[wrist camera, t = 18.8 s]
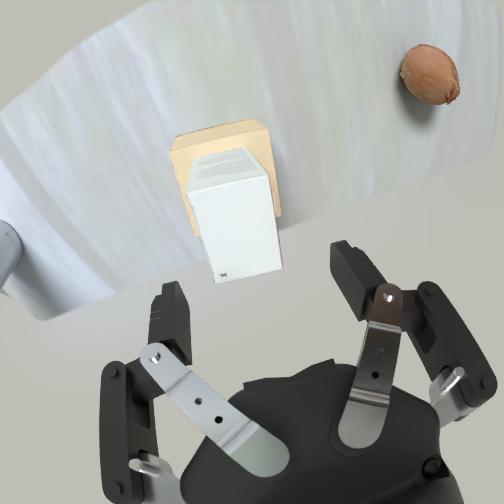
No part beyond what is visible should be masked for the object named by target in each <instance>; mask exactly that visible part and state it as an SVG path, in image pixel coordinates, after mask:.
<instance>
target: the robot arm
mask: <svg viewBox="0 0 504 504" xmlns="http://www.w3.org/2000/svg"><path fill="white" fill-rule="evenodd" d="M21 256H22V244H21V241H20V239H19V237H18V235H17V233H16V232H15V230H14V229H13V228H12V227H11V226H10V225H9V224H7V223H6V222H3V221H0V291H1V289H2V287H3V286H4V284H5V282H6V280H7V279H8V277H9V275H10V274H11V272H12V271H13V269H14V268H15V266H16V264H17V263H18V261H19V260H20V258H21ZM330 270H331V274H332V276H333V278H334V279H335V281H336V283H337V284H338V286H339V288H340V290H341V291H342V293H343V295H344V297H345V298H346V300H347V302H348V304H349V305H350V307H351V309H352V311H353V312H354V314H355V316H356V318H357V319H358V321H362V320H365V319H366V321H367V323H368V324H367V328H366V332H365V336H364V340H363V344H362V348H361V351H360V355H359V358H358V362H357V365H356V366H353V365H349V364H335V362H334V359H329V360H326V361H324V362H320V363H317V364H314V365H311V366H309V367H308V368H306V369H304V370H302V371H301V372H299V373H297V374H295V375H294V376H291V377H280V378H263V379H259V380H255V381H250V382H245V383H243V386H244V389H243V390H241V391H239V392H237V393H236V394H235V395H233V396H232V397H231V398H230V399H229V400H228V401H226V400H225V399H223V398H222V397H221V396H220V395H219V394H218V393H217V392H215V391H214V390H213V389H212V388H211V387H210V386H209V385H207V384H206V383H205V382H204V381H203V380H202V379H201V378H200V377H198V376H197V375H196V374H195V373H194V372H193V371H190V370H189V369H188V368H187V367H186V366H187V365H192V352H191V333H190V310H189V305H188V302H187V300H186V298H185V295H184V294H183V291H182V289H181V287H180V285H179V283H178V281H174V282H169V283H165V284H163V285H162V295H158V296H156V297H155V299H154V300H153V302H152V304H151V315H150V324H149V335H148V345H147V346H146V347H145V348H144V349H143V350H142V352H141V355H140V357H139V358H138V359H136V360H134V361H132V362H130V363H128V364H126V365H124V364H123V363H122V362H120V361H112V362H110V363H108V364H107V365H106V366H105V367H104V369H103V371H102V376H101V390H100V415H99V441H100V465H101V478H102V488H103V492H104V494H105V496H106V498H107V499H108V500H109V501H111V502H112V503H114V504H464V502H463V498H462V496H461V493H460V490H459V487H458V484H457V482H456V479H455V477H454V476H453V474H452V473H451V471H450V470H449V468H448V467H447V466H446V464H445V462H444V461H443V459H442V457H441V454H440V448H439V435H440V429H441V428H442V427H444V426H446V425H447V424H449V423H451V422H452V421H460V420H462V419H463V418H464V417H466V416H468V415H469V414H470V413H471V412H473V411H474V410H476V409H477V408H478V407H480V406H481V405H482V404H484V403H485V402H486V401H488V400H489V399H490V398H491V397H493V395H494V394H495V392H496V390H497V379H496V376H495V375H494V373H493V371H492V369H491V367H490V365H489V364H488V361H487V360H486V358H485V356H484V354H483V352H482V351H481V349H480V348H479V346H478V344H477V342H476V341H475V339H474V338H473V336H472V334H471V332H470V331H469V329H468V328H467V326H466V325H465V323H464V321H463V320H462V318H461V317H460V316H459V314H458V312H457V311H456V309H455V308H454V307H453V305H452V304H451V302H450V301H449V299H448V298H447V297H446V295H445V294H444V293H443V291H442V290H441V288H440V287H439V286H438V285H437V284H435V283H433V282H430V281H425V282H422V283H420V284H419V286H418V288H417V290H401V289H400V288H399V287H398V286H396V285H394V284H390V283H387V281H386V280H385V279H384V277H383V276H382V275H381V273H380V272H379V271H378V269H377V268H376V267H375V265H373V263H372V262H371V260H369V258H368V256H367V255H366V254H365V253H364V251H362V250H360V249H358V248H357V247H354V248H351V246H350V245H349V244H348V243H347V241H346V240H342V241H338V242H334V243H331V246H330ZM405 331H406V332H407V334H408V336H409V338H410V339H411V341H412V343H413V345H414V347H415V349H416V351H417V353H418V355H419V357H420V358H421V361H422V363H423V364H424V367H425V369H426V371H427V373H428V375H429V377H430V379H431V381H432V383H431V385H430V388H429V395H430V400H431V403H430V404H429V403H427V402H426V401H424V400H422V399H419V398H417V397H415V396H413V395H411V394H409V393H407V392H405V391H403V390H401V389H399V388H397V387H395V386H393V385H392V383H393V378H394V373H395V368H396V363H397V358H398V352H399V346H400V339H401V332H405ZM165 393H166V394H167V395H168V397H169V398H170V399H171V400H172V401H173V402H174V403H175V404H176V405H177V406H178V407H179V408H180V410H181V411H182V412H183V413H184V414H185V415H186V416H187V417H188V418H189V419H190V420H191V421H192V422H193V423H194V424H195V425H197V426H198V428H200V429H201V430H202V431H203V432H204V433H205V434H206V436H205V438H204V440H203V441H202V443H201V445H200V446H199V448H198V449H197V451H196V453H195V454H194V456H193V457H192V459H191V461H190V462H189V464H188V465H187V467H186V468H185V470H184V472H183V474H182V476H181V479H180V480H179V479H178V478H177V477H175V475H174V474H173V472H172V469H171V467H170V465H169V464H168V463H167V462H166V461H165V460H164V459H161V458H159V454H158V446H157V438H156V429H155V417H154V405H153V399H154V398H156V397H158V396H160V395H162V394H165Z"/></svg>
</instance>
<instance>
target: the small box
mask: <svg viewBox="0 0 504 504" xmlns="http://www.w3.org/2000/svg"><path fill="white" fill-rule="evenodd" d="M186 196H187V199H188V201H189V204H190V207H191V209H192V212H193V216H194V219H195V222H196V225H197V228H198V231H199V235H200V238H201V241H202V244H203V247H204V250H205V253H206V256H207V259H208V262H209V266H210V269H211V273H212V276H213V280H214V283H215V284H221V283H225V282H230V281H234V280H239V279H243V278H247V277H251V276H255V275H260V274H264V273H268V272H272V271H276V270H279V269H282V268H283V263H282V256H281V249H280V242H279V235H278V228H277V221H276V215H275V208H274V202H273V196H272V189H271V184H270V177H269V174H268V173H267V171H266V170H265V169H264V168H263V166H262V165H261V164H260V163H259V161H258V160H257V159H256V158H255V156H254V155H253V154H252V153H251V152H250V150H249V149H248V148H247V147H246V146H245V147H240V148H235V149H230V150H225V151H221V152H217V153H213V154H208V155H204V156H201V157H197V158H194V159H193V163H192V167H191V172H190V176H189V181H188V186H187V191H186Z"/></svg>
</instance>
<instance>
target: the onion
mask: <svg viewBox="0 0 504 504" xmlns="http://www.w3.org/2000/svg"><path fill="white" fill-rule="evenodd" d="M400 69H401V73H400V75H401V77H402V78H403V80H404V83H405V85H406V87H407V88H408V91H409V92H411V93H412V94H413V95H414V96H415V97H416V98H418V99H419V100H421V101H423V102H425V103H428V104H432V105H441V104H444V103H447V105H448V104H450V103H451V102H452V101H453V100H456V97H457V96H458V95H459V93H460V87H459V79H458V73H457V70H456V67H455V64H454V62H453V61H452V59H451V58H450V57H449V56H448V55H447V54H446V53H445V52H443V51H442V50H440V49H439V48H436V47H434V46H430V45H426V44H423V45H422V44H420V45H418V46H416V47H414V48H412V49H410V50H409V52H408V53H407V54H405V57H404V59H403V61H402V66H401V67H400Z"/></svg>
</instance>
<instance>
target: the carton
mask: <svg viewBox="0 0 504 504" xmlns="http://www.w3.org/2000/svg"><path fill="white" fill-rule="evenodd" d="M260 129H266V127H265V126H263V125H262V124H261V123H259V122H258V121H257V120H255V119H254V118H252V119H247V120H242V121H237V122H232V123H228V124H223V125H219V126H214V127H210V128H206V129H202V130H198V131H195V132H191V133H187V134H183V135H180V136H176V138H175V141H174V143H173V145H172V148H171V151H172V150H176V149H179V148H183V147H186V146H190V145H194V144H197V143H201V142H205V141H209V140H213V139H217V138H222V137H226V136H230V135H235V134H240V133H245V132H250V131H255V130H260Z"/></svg>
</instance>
